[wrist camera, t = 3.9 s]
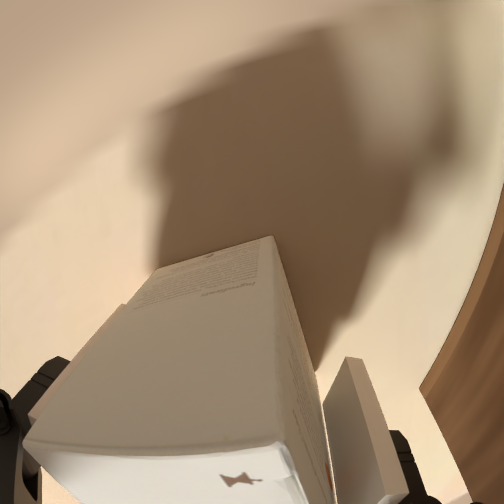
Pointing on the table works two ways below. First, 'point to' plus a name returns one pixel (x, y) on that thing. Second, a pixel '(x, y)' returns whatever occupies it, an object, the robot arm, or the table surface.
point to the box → (475, 377)
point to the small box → (194, 394)
